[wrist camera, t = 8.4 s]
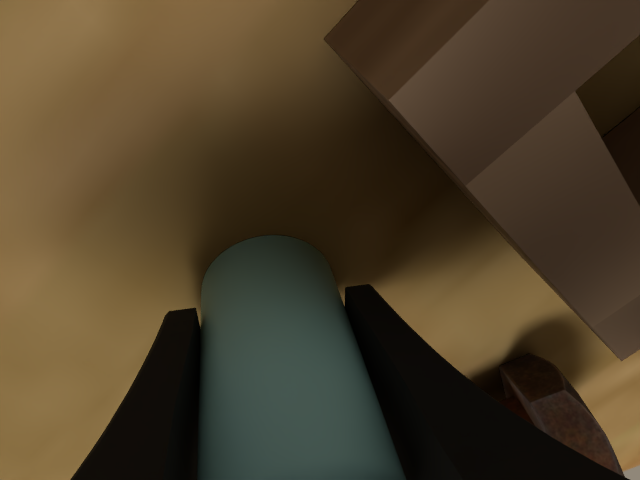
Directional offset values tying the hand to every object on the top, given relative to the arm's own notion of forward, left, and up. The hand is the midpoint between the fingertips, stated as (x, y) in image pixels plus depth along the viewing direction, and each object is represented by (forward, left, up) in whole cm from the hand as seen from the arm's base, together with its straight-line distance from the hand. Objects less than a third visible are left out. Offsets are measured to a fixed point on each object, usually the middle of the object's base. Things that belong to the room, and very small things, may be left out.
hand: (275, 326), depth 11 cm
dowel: (0, 0, -1) cm, 1 cm away
